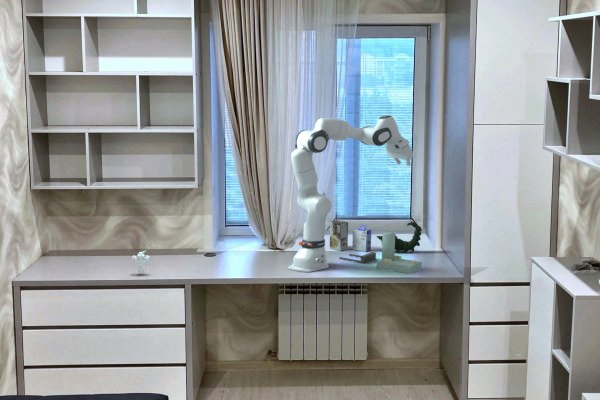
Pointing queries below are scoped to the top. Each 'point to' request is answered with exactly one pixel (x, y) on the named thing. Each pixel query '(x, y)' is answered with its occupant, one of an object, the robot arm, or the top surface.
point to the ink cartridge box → (361, 239)
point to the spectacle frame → (362, 258)
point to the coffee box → (339, 235)
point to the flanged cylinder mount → (395, 257)
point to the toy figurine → (407, 245)
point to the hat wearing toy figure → (141, 262)
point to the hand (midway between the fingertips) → (404, 164)
